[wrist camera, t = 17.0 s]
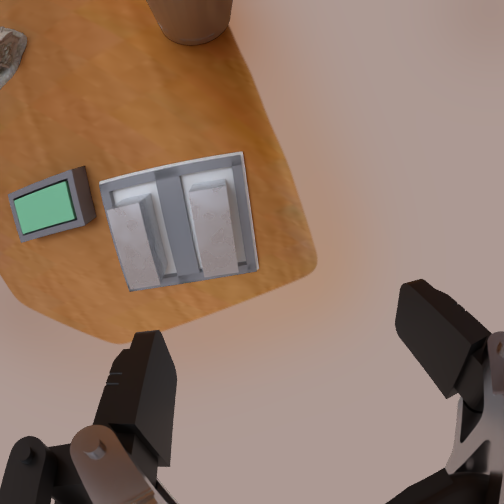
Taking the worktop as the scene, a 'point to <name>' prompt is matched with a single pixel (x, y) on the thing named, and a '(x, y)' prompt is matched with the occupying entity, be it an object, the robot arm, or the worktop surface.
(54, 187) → the button
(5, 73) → the ceramic cottage
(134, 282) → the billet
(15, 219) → the box
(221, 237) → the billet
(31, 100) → the worktop surface
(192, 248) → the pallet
